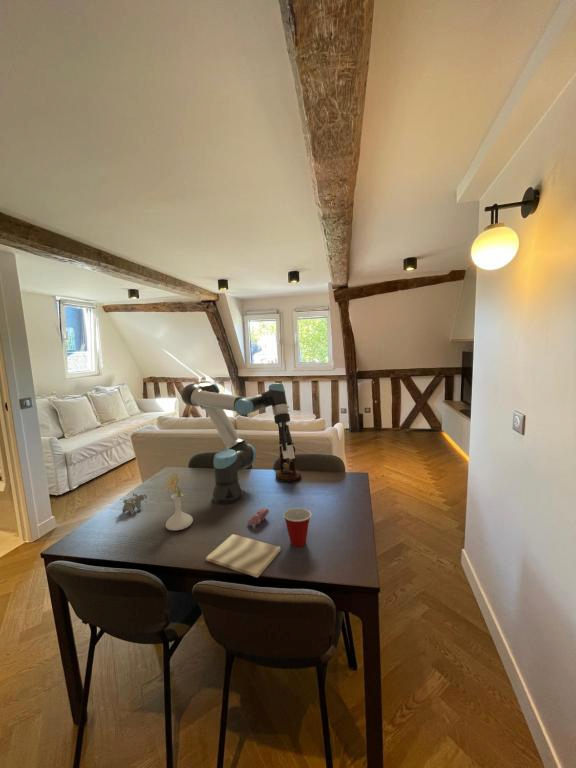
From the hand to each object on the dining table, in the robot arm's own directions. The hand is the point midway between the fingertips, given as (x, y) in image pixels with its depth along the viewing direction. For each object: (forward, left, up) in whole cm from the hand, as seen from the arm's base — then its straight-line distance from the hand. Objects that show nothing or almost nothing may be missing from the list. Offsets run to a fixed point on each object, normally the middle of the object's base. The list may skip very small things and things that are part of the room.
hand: (289, 458), depth 154 cm
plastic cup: (+16, -26, -23) cm, 38 cm away
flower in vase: (-36, -36, -23) cm, 56 cm away
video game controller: (-7, -19, -23) cm, 31 cm away
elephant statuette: (-68, -33, -23) cm, 79 cm away
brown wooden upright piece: (-16, +28, -23) cm, 40 cm away
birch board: (+1, -41, -23) cm, 47 cm away
